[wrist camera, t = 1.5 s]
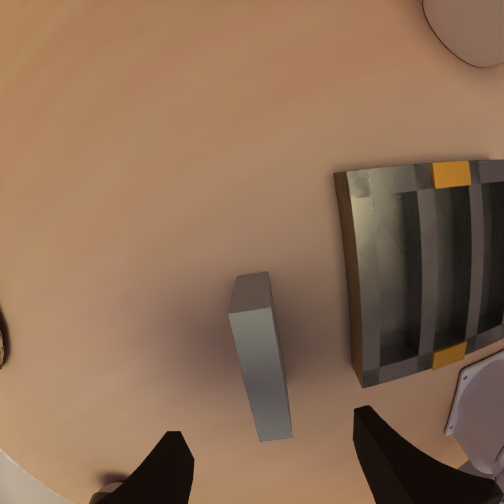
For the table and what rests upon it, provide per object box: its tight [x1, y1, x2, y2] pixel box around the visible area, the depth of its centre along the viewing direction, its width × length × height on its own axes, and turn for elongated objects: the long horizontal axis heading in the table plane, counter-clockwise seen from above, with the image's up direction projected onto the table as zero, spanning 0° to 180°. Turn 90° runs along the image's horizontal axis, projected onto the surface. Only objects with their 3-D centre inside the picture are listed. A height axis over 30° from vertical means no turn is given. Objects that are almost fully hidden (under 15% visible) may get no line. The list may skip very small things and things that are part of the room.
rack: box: [333, 160, 504, 388], centre depth 18 cm, size 14×14×3 cm
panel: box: [228, 271, 293, 442], centre depth 18 cm, size 9×2×6 cm, turn 10°
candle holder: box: [423, 0, 504, 68], centre depth 9 cm, size 10×10×12 cm
